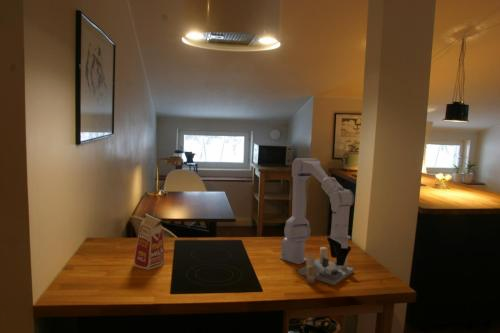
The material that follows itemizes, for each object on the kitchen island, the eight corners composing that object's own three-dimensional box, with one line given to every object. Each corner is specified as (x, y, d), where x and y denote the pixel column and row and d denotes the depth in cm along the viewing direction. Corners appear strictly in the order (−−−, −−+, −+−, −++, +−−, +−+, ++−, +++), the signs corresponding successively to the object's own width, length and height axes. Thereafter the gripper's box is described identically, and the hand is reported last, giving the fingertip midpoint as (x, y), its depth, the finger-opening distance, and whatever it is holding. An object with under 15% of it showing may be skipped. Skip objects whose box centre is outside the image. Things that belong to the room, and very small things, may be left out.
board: (298, 273, 143) (299, 254, 142) (319, 261, 156) (320, 244, 155) (334, 285, 133) (335, 265, 132) (353, 272, 146) (354, 253, 146)
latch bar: (335, 266, 143) (335, 261, 143) (341, 267, 141) (341, 263, 141) (324, 272, 136) (324, 268, 136) (330, 274, 134) (330, 269, 134)
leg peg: (304, 282, 135) (305, 266, 134) (308, 280, 137) (309, 264, 136) (311, 284, 133) (312, 268, 132) (315, 282, 135) (316, 266, 134)
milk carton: (133, 265, 143) (133, 215, 140) (149, 258, 151) (150, 210, 149) (150, 271, 138) (151, 219, 136) (167, 263, 147) (168, 214, 144)
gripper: (358, 230, 122) (354, 269, 124) (345, 219, 137) (342, 254, 138) (337, 229, 122) (334, 269, 124) (326, 218, 136) (323, 253, 138)
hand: (337, 261), depth 131 cm, fingers open, 7 cm apart
